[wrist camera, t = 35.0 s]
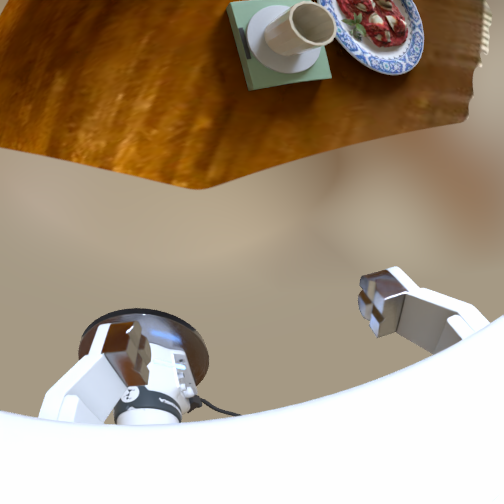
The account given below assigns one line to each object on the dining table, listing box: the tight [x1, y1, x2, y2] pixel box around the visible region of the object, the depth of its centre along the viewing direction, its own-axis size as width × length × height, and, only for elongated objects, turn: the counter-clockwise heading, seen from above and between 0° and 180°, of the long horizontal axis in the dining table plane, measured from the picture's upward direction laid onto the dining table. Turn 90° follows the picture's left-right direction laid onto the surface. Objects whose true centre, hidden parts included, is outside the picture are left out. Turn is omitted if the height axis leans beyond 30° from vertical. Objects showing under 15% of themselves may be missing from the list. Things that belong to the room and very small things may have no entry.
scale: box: [226, 0, 332, 91], centre depth 31 cm, size 14×13×3 cm
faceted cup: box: [264, 1, 337, 56], centre depth 27 cm, size 6×6×8 cm
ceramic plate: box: [317, 0, 424, 75], centre depth 31 cm, size 26×26×3 cm
